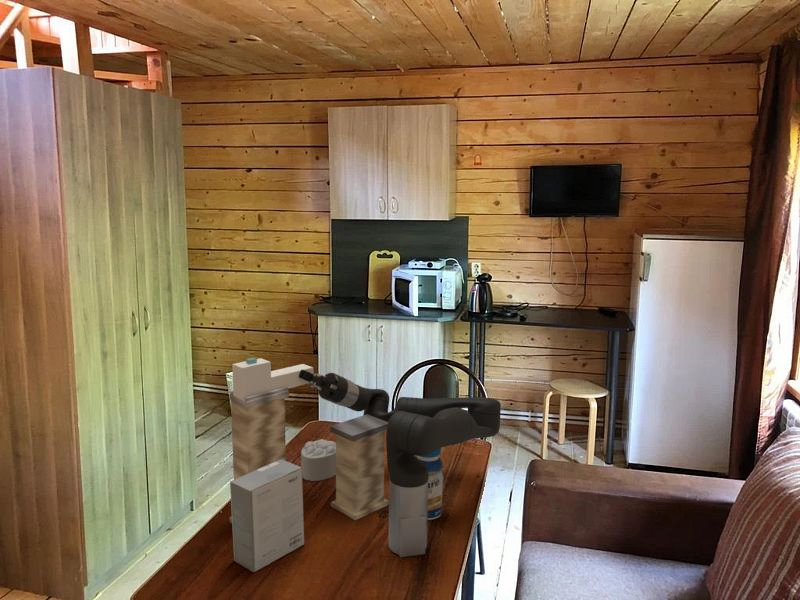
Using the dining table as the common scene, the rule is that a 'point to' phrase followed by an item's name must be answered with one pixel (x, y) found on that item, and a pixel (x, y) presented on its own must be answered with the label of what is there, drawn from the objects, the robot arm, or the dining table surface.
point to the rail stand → (258, 431)
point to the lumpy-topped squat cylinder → (318, 460)
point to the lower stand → (359, 466)
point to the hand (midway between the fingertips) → (294, 371)
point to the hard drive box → (267, 514)
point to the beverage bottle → (434, 483)
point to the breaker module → (264, 377)
